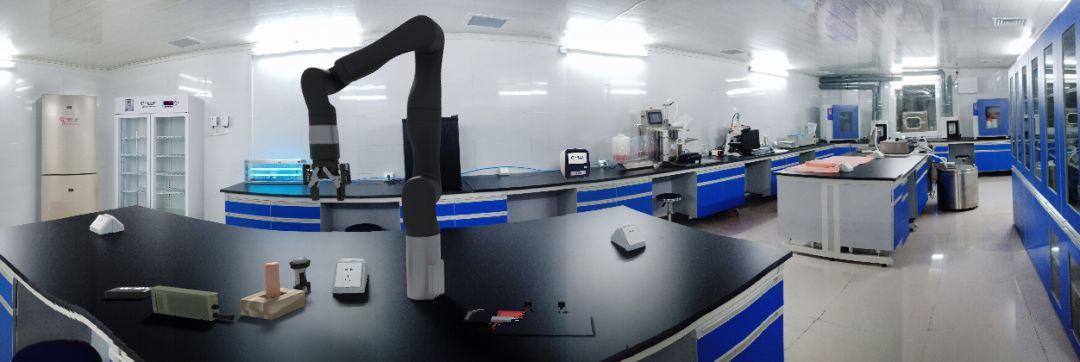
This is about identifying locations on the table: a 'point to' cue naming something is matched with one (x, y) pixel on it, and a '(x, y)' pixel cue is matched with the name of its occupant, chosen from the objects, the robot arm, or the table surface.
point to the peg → (272, 280)
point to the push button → (301, 273)
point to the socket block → (272, 304)
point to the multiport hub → (128, 293)
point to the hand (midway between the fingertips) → (328, 200)
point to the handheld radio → (187, 303)
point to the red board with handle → (508, 313)
